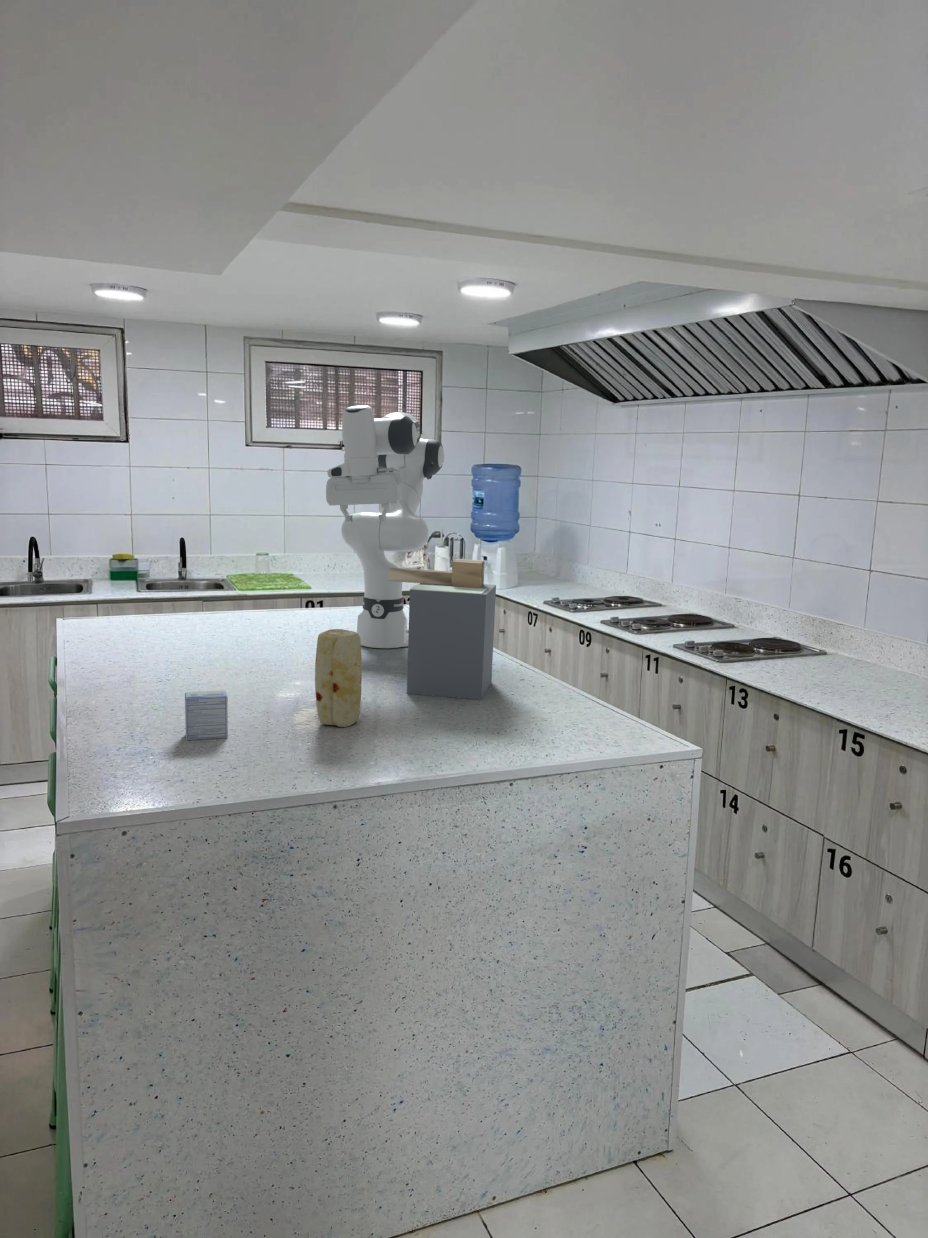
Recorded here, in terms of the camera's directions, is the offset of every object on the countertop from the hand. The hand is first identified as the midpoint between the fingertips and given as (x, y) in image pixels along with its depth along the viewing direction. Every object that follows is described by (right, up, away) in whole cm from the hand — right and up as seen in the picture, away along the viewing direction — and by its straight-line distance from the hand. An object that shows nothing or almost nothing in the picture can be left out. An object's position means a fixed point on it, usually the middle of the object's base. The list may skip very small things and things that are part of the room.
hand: (365, 521), depth 234 cm
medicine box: (-24, -49, -61) cm, 82 cm away
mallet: (+20, -17, -17) cm, 31 cm away
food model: (0, -48, -50) cm, 69 cm away
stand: (+23, -43, -17) cm, 51 cm away
